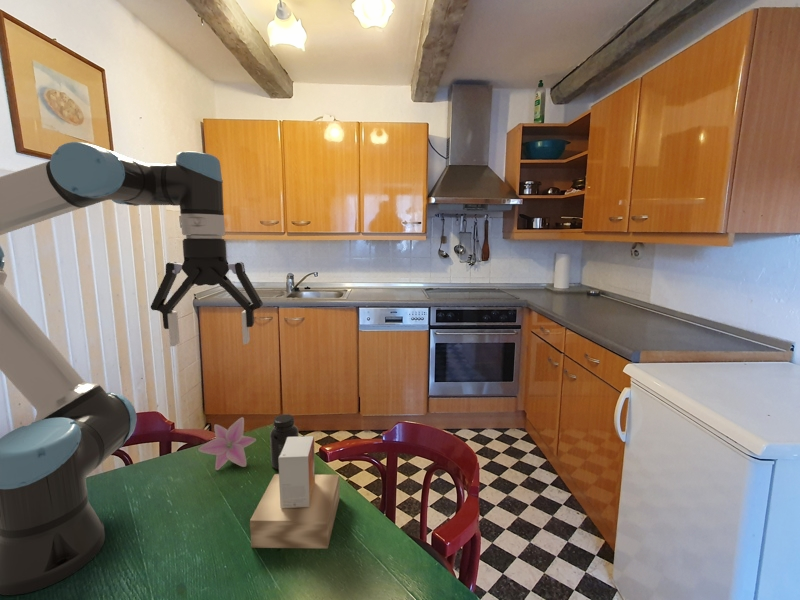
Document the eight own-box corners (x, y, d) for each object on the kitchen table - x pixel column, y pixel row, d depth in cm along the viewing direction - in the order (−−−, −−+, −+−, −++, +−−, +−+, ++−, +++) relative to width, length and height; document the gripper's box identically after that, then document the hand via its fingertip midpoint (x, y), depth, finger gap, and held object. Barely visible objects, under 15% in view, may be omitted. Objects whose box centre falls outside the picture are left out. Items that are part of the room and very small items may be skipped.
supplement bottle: (304, 458, 100) (303, 414, 98) (290, 473, 94) (288, 426, 92) (281, 453, 102) (279, 410, 100) (265, 468, 96) (263, 422, 94)
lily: (193, 470, 96) (192, 447, 91) (219, 431, 106) (220, 409, 101) (239, 485, 96) (241, 464, 91) (261, 445, 106) (264, 424, 101)
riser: (251, 549, 71) (249, 520, 70) (275, 499, 85) (274, 474, 84) (327, 550, 71) (327, 521, 70) (339, 499, 85) (339, 474, 84)
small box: (309, 508, 74) (308, 456, 72) (279, 509, 73) (277, 457, 72) (315, 482, 82) (314, 435, 80) (288, 483, 81) (287, 435, 79)
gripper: (123, 236, 70) (134, 350, 73) (267, 238, 74) (272, 346, 77) (143, 236, 77) (152, 340, 80) (273, 238, 81) (277, 337, 84)
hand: (211, 343), depth 79 cm, fingers open, 13 cm apart
